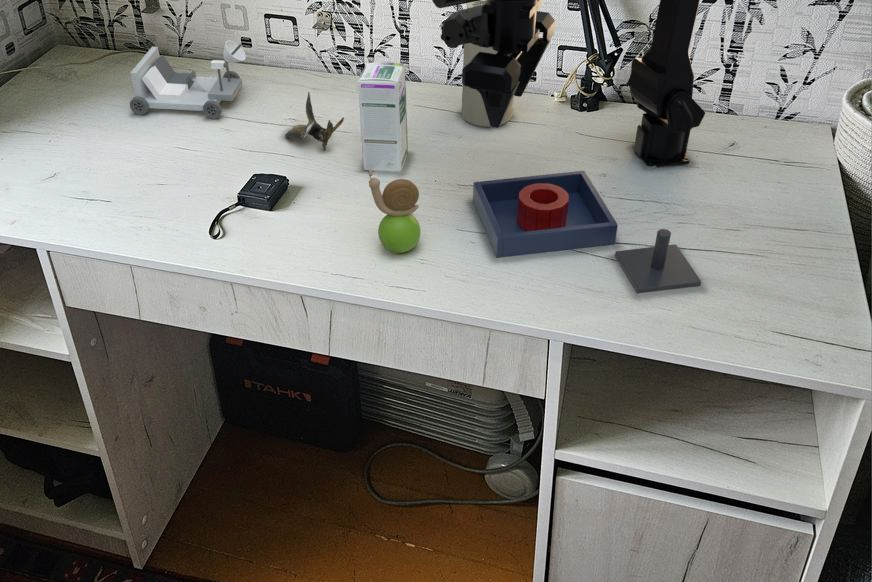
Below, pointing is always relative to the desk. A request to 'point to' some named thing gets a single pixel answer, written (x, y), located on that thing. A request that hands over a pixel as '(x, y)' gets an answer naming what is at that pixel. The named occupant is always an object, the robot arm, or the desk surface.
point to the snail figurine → (397, 213)
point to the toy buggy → (184, 84)
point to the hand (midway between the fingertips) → (506, 111)
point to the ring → (542, 207)
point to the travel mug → (471, 97)
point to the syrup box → (383, 116)
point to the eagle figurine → (313, 127)
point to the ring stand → (657, 266)
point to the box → (582, 230)
